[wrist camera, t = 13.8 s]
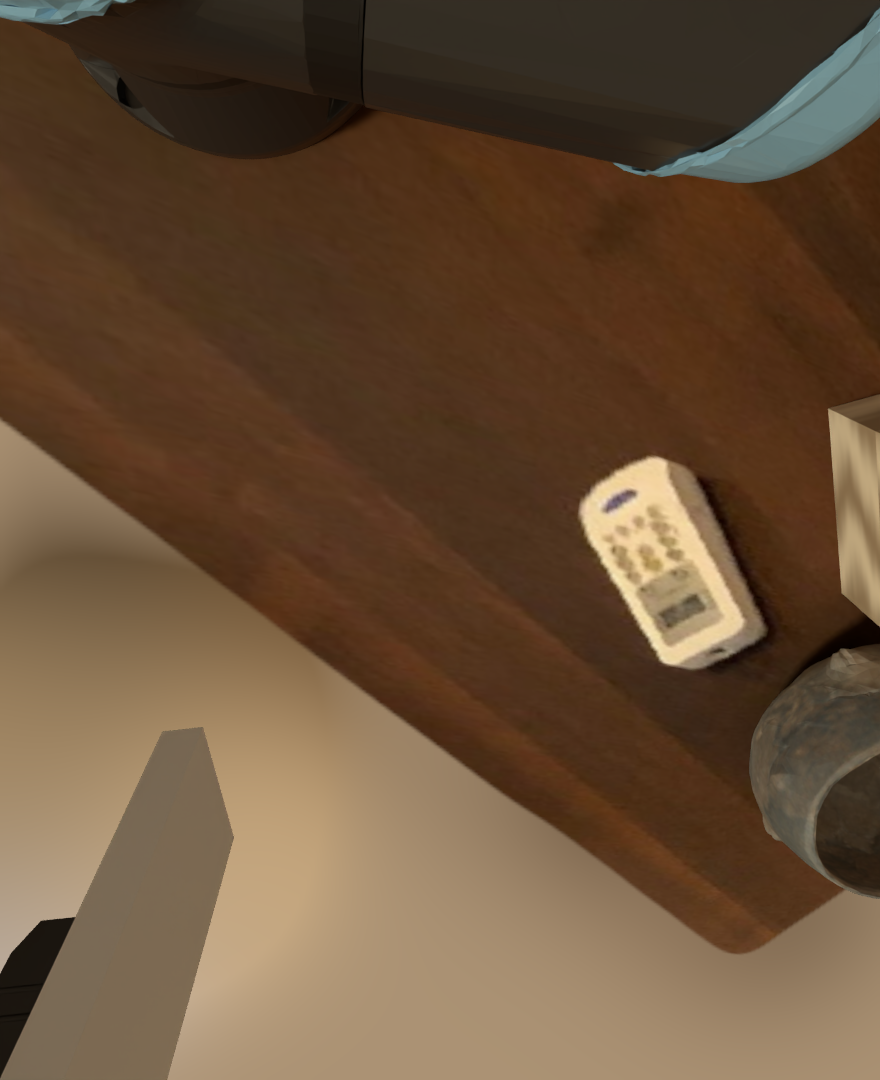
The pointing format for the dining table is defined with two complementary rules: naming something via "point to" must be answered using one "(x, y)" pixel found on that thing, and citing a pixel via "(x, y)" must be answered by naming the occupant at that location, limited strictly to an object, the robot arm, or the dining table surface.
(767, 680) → the dining table surface
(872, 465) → the birch box
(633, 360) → the dining table surface
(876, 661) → the bowl
